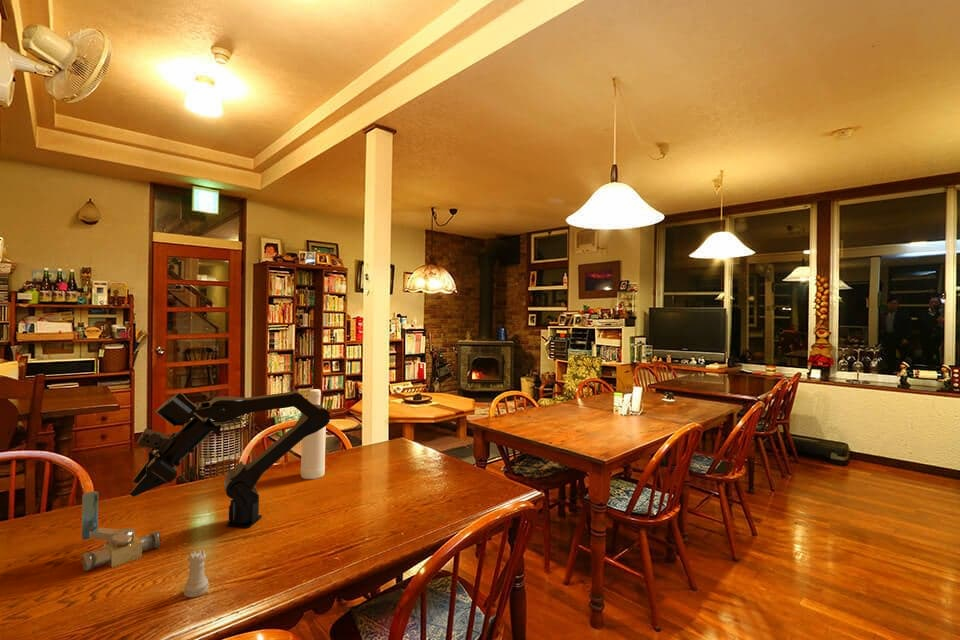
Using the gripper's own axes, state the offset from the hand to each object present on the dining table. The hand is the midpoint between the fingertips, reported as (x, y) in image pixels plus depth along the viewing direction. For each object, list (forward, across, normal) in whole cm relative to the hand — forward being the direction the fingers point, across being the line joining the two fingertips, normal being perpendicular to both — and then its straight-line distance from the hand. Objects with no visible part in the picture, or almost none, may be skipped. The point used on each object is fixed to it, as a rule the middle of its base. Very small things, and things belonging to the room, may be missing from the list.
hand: (133, 488), depth 110 cm
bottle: (-25, -27, +44) cm, 57 cm away
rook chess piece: (+1, +29, +19) cm, 34 cm away
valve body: (+10, +6, +9) cm, 15 cm away
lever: (+10, +3, +4) cm, 11 cm away
